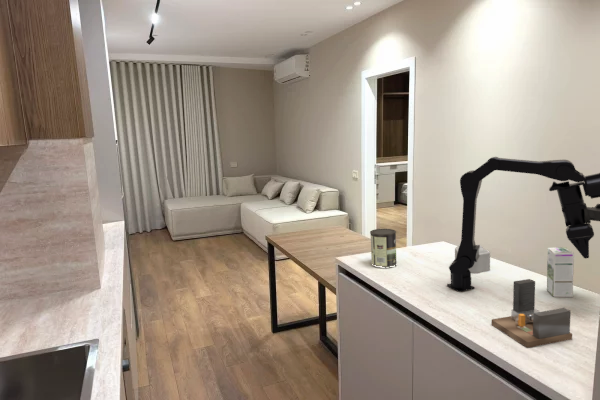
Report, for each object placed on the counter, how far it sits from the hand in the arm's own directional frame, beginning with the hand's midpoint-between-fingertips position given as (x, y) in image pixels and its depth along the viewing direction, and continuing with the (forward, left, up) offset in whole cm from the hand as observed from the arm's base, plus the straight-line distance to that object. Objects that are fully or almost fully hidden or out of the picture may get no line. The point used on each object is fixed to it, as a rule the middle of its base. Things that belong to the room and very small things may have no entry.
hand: (585, 253), depth 120 cm
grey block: (-41, -5, -16) cm, 45 cm away
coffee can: (-60, -32, -16) cm, 70 cm away
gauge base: (+6, -27, -15) cm, 32 cm away
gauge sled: (+4, -26, -14) cm, 30 cm away
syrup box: (-8, +1, -16) cm, 18 cm away
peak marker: (+6, -30, -13) cm, 33 cm away
